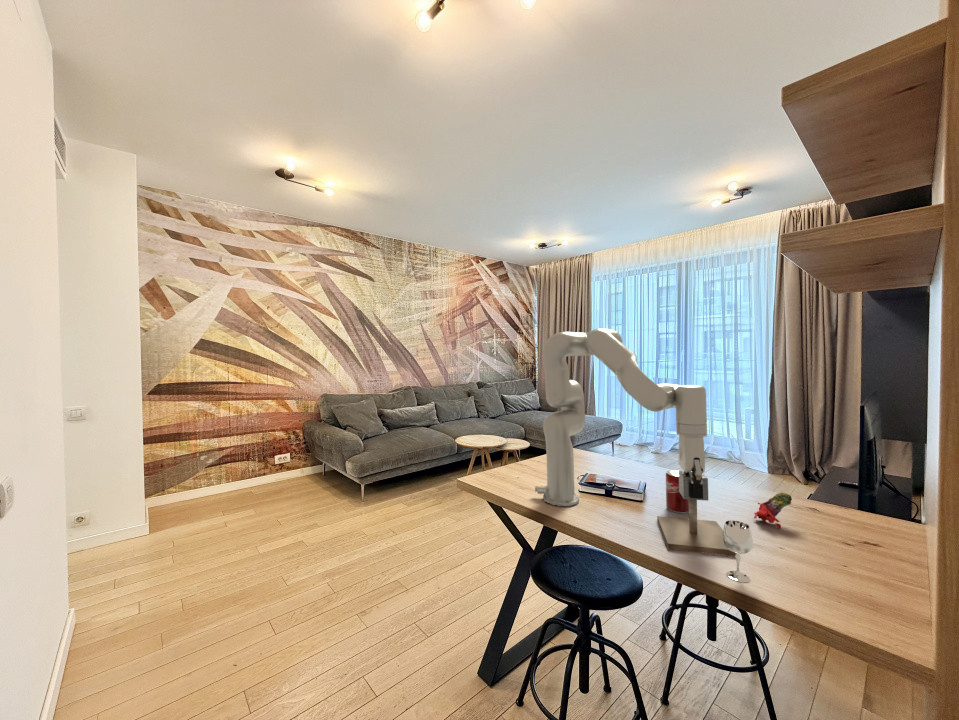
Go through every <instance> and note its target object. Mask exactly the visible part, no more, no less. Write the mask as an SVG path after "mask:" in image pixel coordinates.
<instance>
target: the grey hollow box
mask: <svg viewBox="0 0 959 720" xmlns="http://www.w3.org/2000/svg"><path fill="white" fill-rule="evenodd" d="M678 471H679V492H680V494H681V495H682V497H683V498H684V499H692V500H697V501H709V478H708V476H706V475H705V473H702V482H703V499H696V498H690V496H689V483H690V474H689V472H688V473H686V472H685V471H684V470H678ZM694 476H695V474H693V477H694Z"/></svg>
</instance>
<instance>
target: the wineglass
mask: <svg viewBox="0 0 959 720" xmlns="http://www.w3.org/2000/svg"><path fill="white" fill-rule="evenodd" d="M722 530H723V542H724V544H725V546H726V547H727V548H728V549H729V550H731V551H732V552H735V553H736V555H735V556H734V558H735V562H736V570H729V571H728V572H726V577H728V578H729V579H731V580H733V581H735V582H738V583H749V582H750V581H751V578H750V576H749V575H747V574H746V573H743V572H741V570H740V562H741V555H744V554H748V553H750V552H751V551H752V549H753V545H754V542H753V541H754V540H753V539H754V538H753V534H752V531H751V527H750V525H749V524H747V523H745V522H743V521H739V520H734V519H733V520H726V521H725V522H724V525H723V529H722Z"/></svg>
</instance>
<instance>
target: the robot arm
mask: <svg viewBox="0 0 959 720" xmlns="http://www.w3.org/2000/svg"><path fill="white" fill-rule="evenodd" d="M542 350H543V351H542V359H543V367H544V386H545V387H544V388H545V391H544V392H545V399H546V402H547V405H549V406H550V407H551V408H554V409H555V408H557V409H558V408H561V410H558V411H554V412H551V413H549V414H548V415H547V416H545V418H544V420H543V423H542V429H543V434H544V439H545V448H546V449H545V451H546V452H545V453H546V483H547V484H546V485H544V486H538V485H537V486H534V491H535V493H537V494H539V495H541V494H542V497H543V498H542V500H543V499H544V500H543V501H544V502H545V501H546V502H547V503H546V502H545V503H546V504H548V503H550V504H549V505H551V504H552V506H555V505H557V506H556V507H571V506H575V505H577V504H578V503H579V502H580V497H579V495H577V494H576V492H575V458H574V456H575V453H574V447H573V446H574V445H573V443H572V439H571V436H574V435H577V434H580V433H581V432H583V430H584V428H585V425H586V410H585V395H584V394H585V393H584V389H583V388H582V385H581V384H580V383H579V382H578V381H576V380H573V379H570V369H569V365H568V363H567V362H568V361H567V359H566V358H567V357H582V356H583V357H584V356H585V357H586V356H595V357H596V358H597V359H598V360H599V361H600V362H602V363H603V364H604V365H605V366H606V367H607V368H608V369H609V371H611V372H612V373H614V375H615V376H616V378H617V380H618V382H619V383H620V385H621V387H622V388H623V389H624V391H625V392H626V393H627V394H628V395H630V396H629V397H631V398H632V399H634V400H635V401H636V402H637V403H638V404H639V405H640V406H642V407H643V408H644V409H646V410H647V411H650V412H656V413H657V412H661V411H665V410H669V409H675V423H676V424H675V425H676V428H675V429H676V431H675V432H676V435H678V455H677V456H678V458H677V459H678V465H679V466H680V468H681V470H682V471H685V472H686V473H688V472H689V474H690V483H689V496H690V498H696V499H703V482H702V473H703V474H705V471H706V454H705V442H704V441H705V440H704V438H705V437H707V436H708V422H707V421H708V420H707V419H708V418H707V416H708V415H707V391H706V388H705V387H704V386H702V385H699V384H682V385H681V384H673V383H656V382H654V381H653V380H652V379H650V378H649V377H648V376H647V375H646V374H645V373H644V372H643V371H642V370H641V368H640V367H639V365H638V356H637V355H636V354H635V353H634V352H633V351H632V350H630V349H629V348H628V347H627V346H626V345H624V344H623V339H622V336H621V334H620V333H619V332H618V331H616V330H614V329H611V328H601V327H600V328H594V329H592V330H590V331H585V332H580V331H578V332H577V331H576V332H575V331H560V332H557V333H554V334H553V335H551V336H550V337H549V338H548V339H547V340H546V342H545V343H544V346H543V349H542ZM693 474H695V476H694V477H693Z"/></svg>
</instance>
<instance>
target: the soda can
mask: <svg viewBox="0 0 959 720" xmlns="http://www.w3.org/2000/svg"><path fill="white" fill-rule="evenodd" d="M679 471H680V470H667V471H666V472H665V501H666V503H665V504H666V505H665V507H666V508H667V510H668V511H671V512H673V513H677V514H689V499H684V498H683V497H682V495H681V494H680V492H679Z"/></svg>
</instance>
